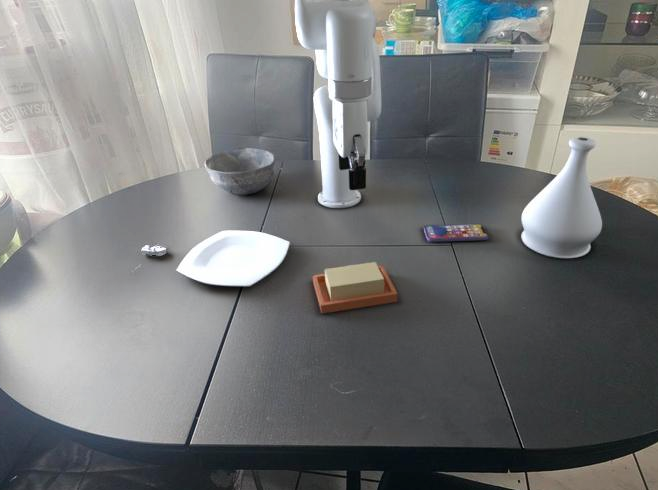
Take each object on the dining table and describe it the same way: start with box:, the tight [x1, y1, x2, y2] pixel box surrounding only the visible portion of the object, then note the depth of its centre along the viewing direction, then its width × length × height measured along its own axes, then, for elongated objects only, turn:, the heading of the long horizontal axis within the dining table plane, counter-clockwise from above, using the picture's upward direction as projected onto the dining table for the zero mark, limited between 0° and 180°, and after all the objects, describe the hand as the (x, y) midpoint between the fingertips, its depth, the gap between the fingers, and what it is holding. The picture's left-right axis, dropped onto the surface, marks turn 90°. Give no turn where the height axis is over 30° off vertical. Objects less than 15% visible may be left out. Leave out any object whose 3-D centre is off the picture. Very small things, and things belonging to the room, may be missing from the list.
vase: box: [520, 136, 603, 259], centre depth 101 cm, size 17×17×25 cm
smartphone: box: [423, 223, 489, 243], centre depth 112 cm, size 1×7×15 cm
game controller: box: [130, 243, 168, 274], centre depth 105 cm, size 6×12×3 cm, turn 2°
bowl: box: [203, 147, 276, 195], centre depth 135 cm, size 21×21×10 cm
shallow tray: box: [312, 265, 398, 314], centre depth 93 cm, size 11×16×2 cm
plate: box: [176, 229, 291, 288], centre depth 104 cm, size 23×23×2 cm
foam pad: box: [324, 261, 384, 301], centre depth 92 cm, size 6×11×4 cm, turn 102°
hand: (351, 178), depth 89 cm, fingers open, 9 cm apart
